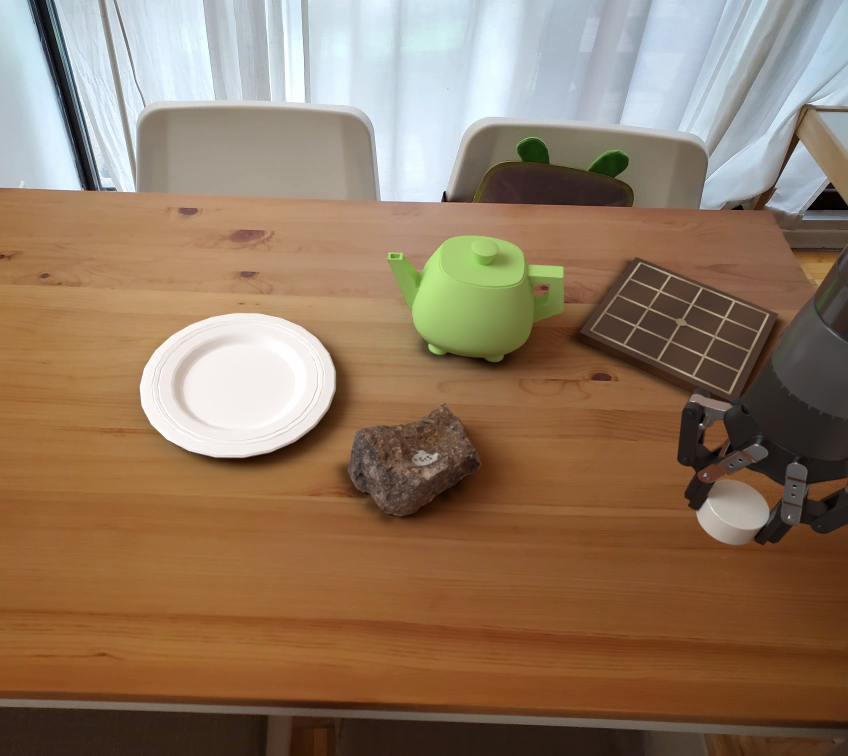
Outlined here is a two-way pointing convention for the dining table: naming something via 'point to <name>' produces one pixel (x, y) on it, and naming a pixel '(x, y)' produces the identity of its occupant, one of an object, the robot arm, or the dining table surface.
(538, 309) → the teapot
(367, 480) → the rock
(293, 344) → the plate
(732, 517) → the white cylindrical puck
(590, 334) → the board
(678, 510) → the dining table surface
